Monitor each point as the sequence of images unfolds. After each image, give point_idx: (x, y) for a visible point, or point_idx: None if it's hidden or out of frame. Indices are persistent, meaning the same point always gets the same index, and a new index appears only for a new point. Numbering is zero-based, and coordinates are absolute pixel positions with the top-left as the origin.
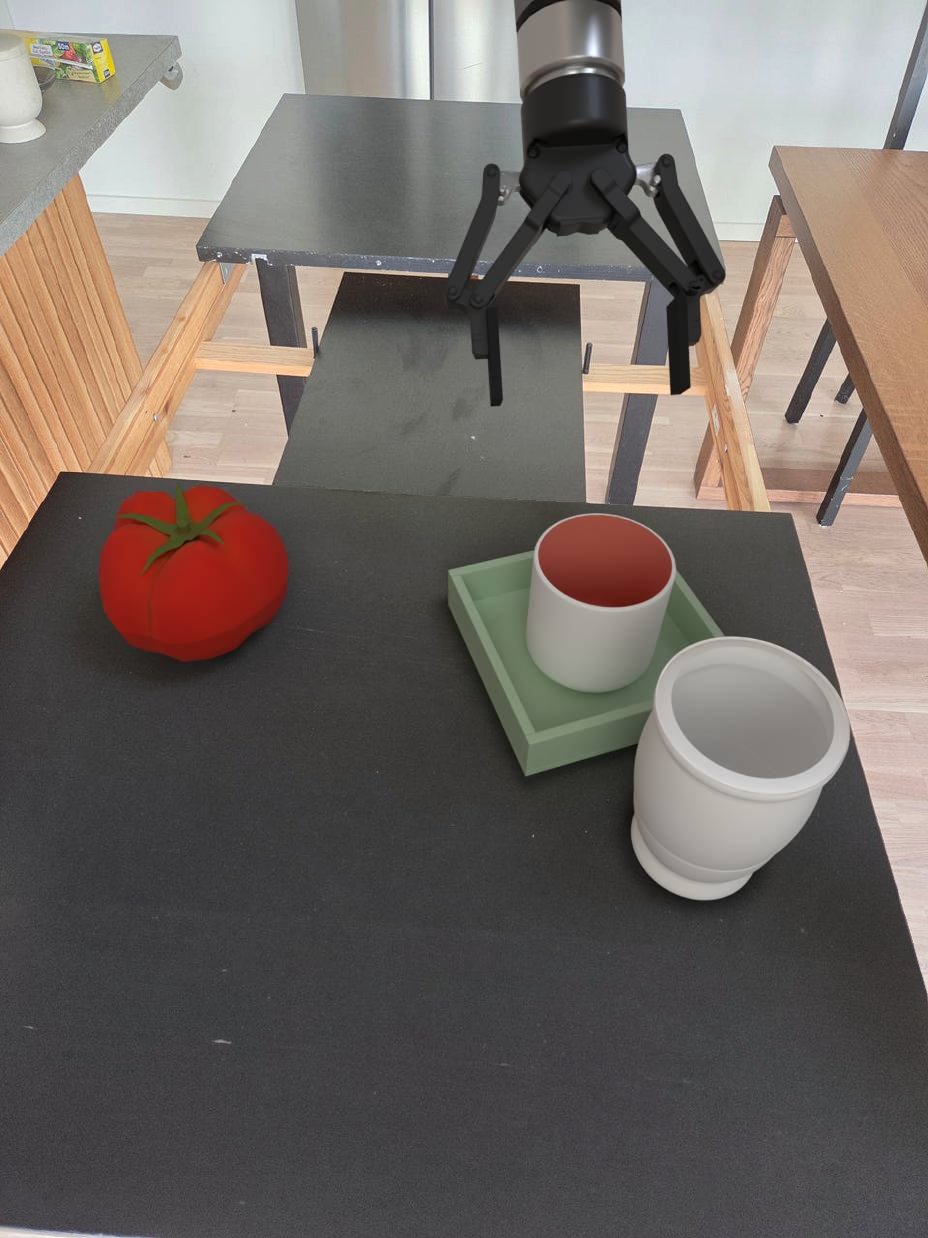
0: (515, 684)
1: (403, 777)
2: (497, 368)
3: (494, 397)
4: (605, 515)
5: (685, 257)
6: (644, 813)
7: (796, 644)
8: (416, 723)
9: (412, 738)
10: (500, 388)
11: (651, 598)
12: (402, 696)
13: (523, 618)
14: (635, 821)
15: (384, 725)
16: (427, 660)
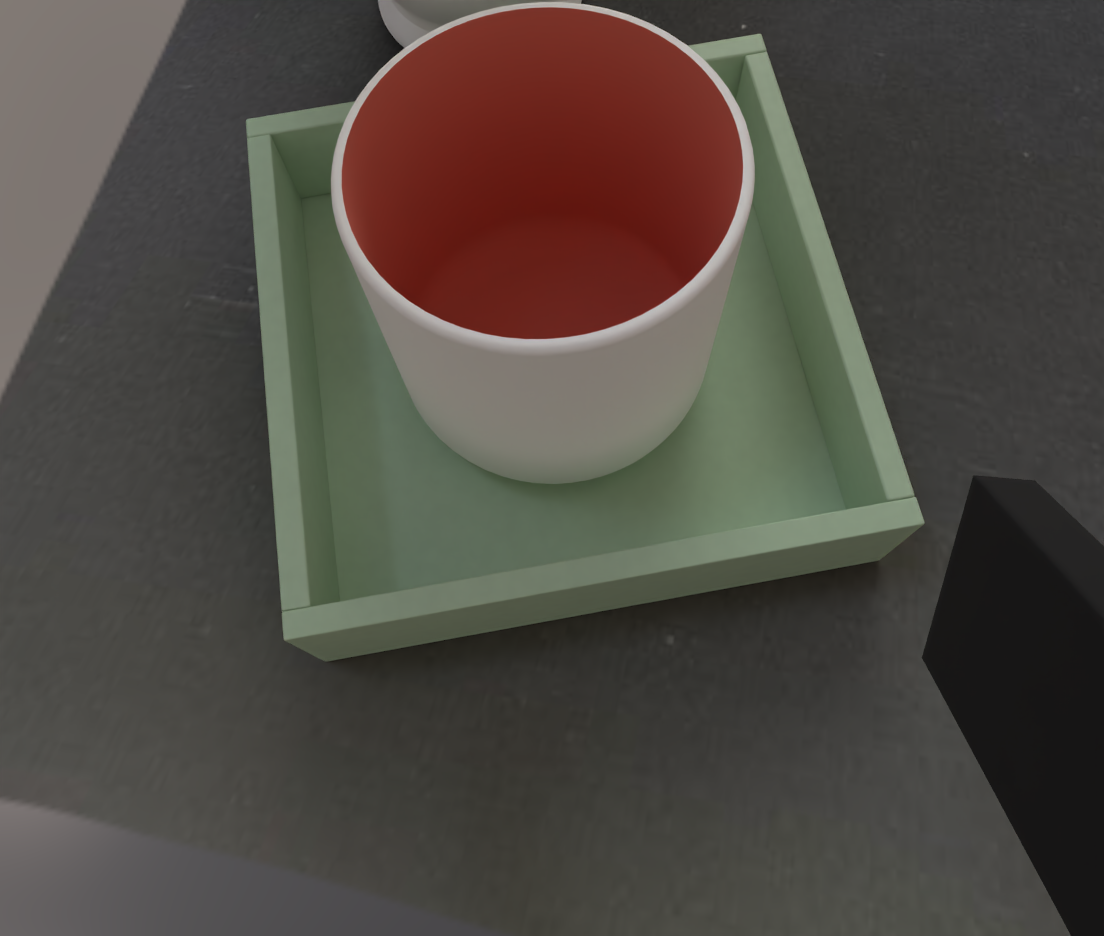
0: (737, 287)
1: (974, 139)
2: (1080, 563)
3: (1028, 486)
4: (480, 333)
5: None
6: None
7: (73, 339)
8: (952, 243)
9: (960, 212)
10: (1011, 499)
11: (457, 25)
12: (986, 307)
13: (690, 468)
14: (571, 2)
15: (1021, 245)
16: (932, 394)
